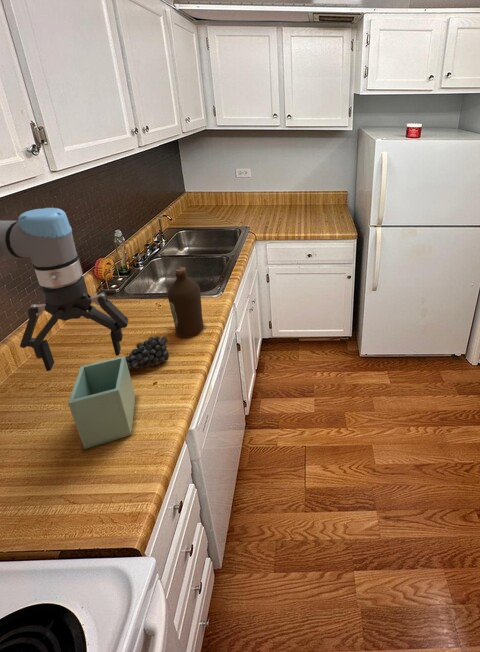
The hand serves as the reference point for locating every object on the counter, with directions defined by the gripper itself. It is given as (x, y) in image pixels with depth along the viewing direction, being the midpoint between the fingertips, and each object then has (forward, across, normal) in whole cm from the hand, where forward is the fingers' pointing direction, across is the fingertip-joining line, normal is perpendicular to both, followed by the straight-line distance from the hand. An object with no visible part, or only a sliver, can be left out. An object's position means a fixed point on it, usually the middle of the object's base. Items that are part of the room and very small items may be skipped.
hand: (85, 359), depth 78 cm
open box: (+14, +2, 0) cm, 14 cm away
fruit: (+21, +9, +19) cm, 30 cm away
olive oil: (+21, +22, +32) cm, 44 cm away
